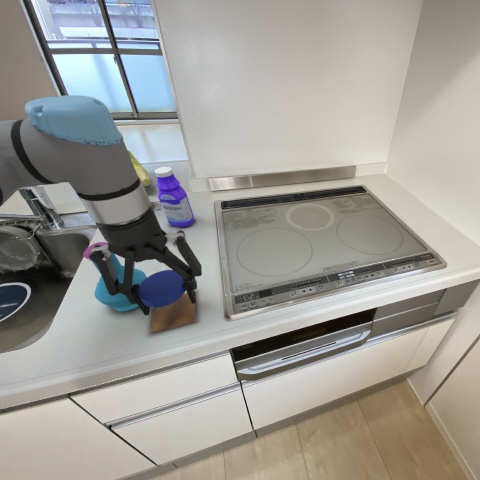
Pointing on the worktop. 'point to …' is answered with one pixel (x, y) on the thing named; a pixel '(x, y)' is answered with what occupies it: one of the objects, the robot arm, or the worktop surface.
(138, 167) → the lettuce
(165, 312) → the plate
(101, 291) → the perfume bottle
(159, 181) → the bottle
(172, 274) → the jar lid
